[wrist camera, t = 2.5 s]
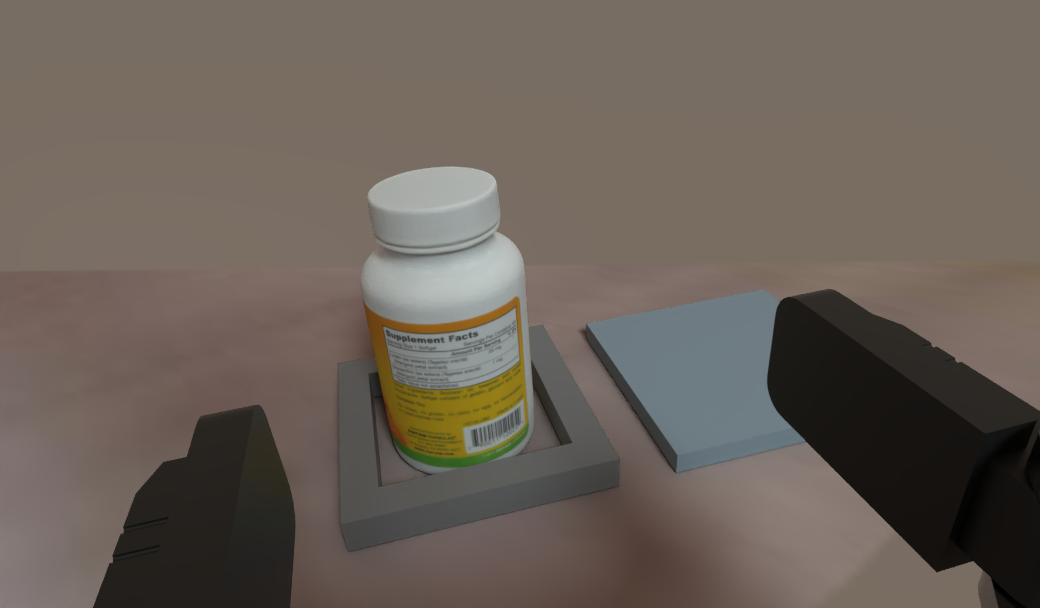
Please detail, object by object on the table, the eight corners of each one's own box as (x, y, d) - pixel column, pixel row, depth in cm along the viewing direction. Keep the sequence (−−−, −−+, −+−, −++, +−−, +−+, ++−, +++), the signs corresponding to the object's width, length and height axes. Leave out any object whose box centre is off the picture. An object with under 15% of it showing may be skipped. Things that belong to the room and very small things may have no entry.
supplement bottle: (424, 381, 27) (387, 157, 23) (548, 395, 26) (537, 160, 21) (368, 471, 23) (307, 215, 18) (515, 492, 21) (490, 222, 17)
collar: (348, 551, 20) (340, 524, 19) (343, 386, 27) (337, 363, 27) (619, 485, 21) (619, 458, 21) (544, 347, 29) (542, 324, 28)
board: (676, 472, 22) (677, 455, 21) (586, 338, 29) (586, 323, 29) (902, 417, 23) (907, 400, 23) (762, 304, 31) (763, 289, 31)
